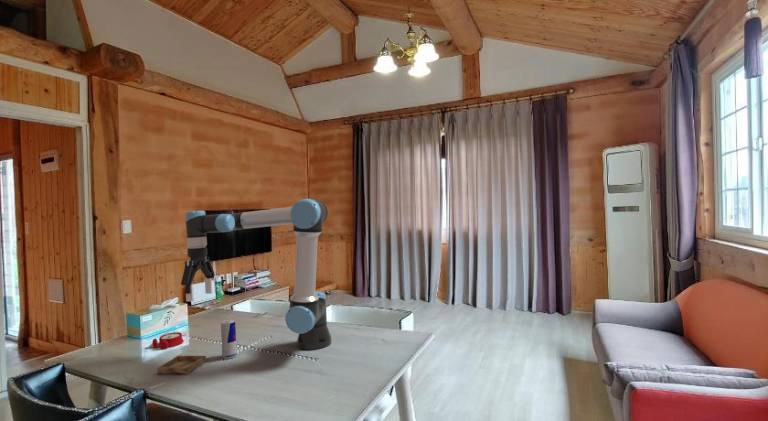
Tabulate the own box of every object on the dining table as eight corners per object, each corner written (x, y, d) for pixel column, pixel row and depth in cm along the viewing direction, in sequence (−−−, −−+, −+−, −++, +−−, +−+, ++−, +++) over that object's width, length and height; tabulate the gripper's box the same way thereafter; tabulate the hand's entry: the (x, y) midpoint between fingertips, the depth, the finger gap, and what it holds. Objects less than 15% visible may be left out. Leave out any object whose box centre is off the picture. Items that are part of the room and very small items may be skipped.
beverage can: (231, 359, 156) (230, 323, 155) (219, 359, 157) (217, 323, 157) (239, 354, 161) (237, 319, 161) (227, 353, 162) (226, 318, 162)
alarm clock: (190, 333, 181) (160, 336, 168) (188, 347, 180) (158, 351, 166) (175, 330, 185) (145, 333, 172) (173, 344, 184) (143, 348, 171)
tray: (205, 361, 155) (205, 355, 155) (187, 374, 143) (187, 368, 143) (178, 361, 156) (178, 355, 156) (157, 374, 144) (157, 368, 144)
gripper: (205, 244, 174) (208, 290, 174) (169, 251, 149) (172, 305, 149) (221, 243, 173) (223, 290, 173) (187, 250, 148) (190, 304, 148)
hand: (199, 297), depth 161 cm, fingers open, 13 cm apart
